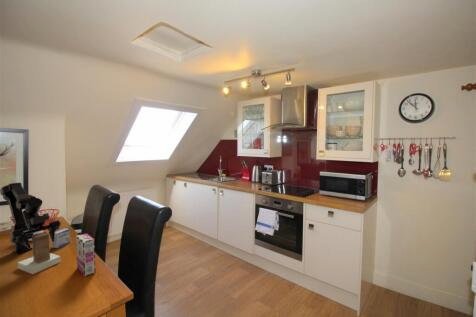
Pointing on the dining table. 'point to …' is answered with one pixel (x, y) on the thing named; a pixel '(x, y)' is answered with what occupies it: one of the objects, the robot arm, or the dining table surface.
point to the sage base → (33, 267)
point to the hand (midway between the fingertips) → (42, 245)
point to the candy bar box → (85, 254)
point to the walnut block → (41, 247)
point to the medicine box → (61, 238)
